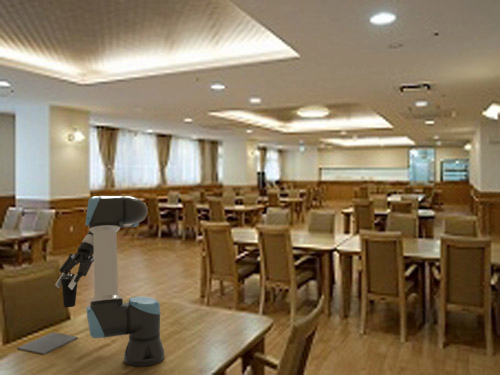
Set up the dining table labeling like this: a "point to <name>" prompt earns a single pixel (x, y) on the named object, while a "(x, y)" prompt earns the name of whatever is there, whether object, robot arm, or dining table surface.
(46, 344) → the placemat
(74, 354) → the dining table surface
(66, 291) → the drinking cup
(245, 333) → the dining table surface
